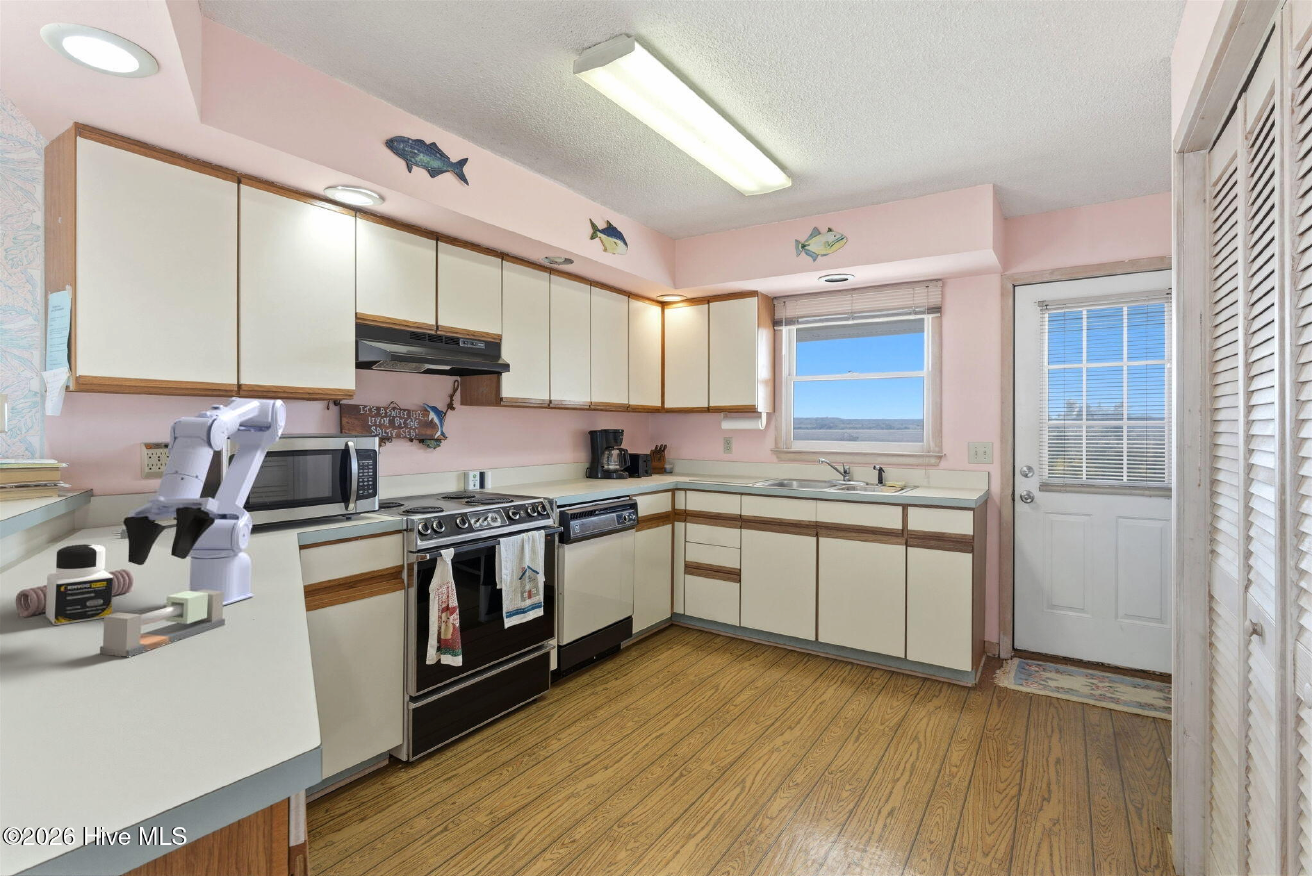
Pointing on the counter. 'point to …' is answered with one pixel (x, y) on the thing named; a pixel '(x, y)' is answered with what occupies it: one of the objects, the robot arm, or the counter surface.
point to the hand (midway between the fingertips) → (157, 560)
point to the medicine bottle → (79, 585)
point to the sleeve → (189, 606)
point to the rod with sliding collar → (126, 629)
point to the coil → (40, 593)
